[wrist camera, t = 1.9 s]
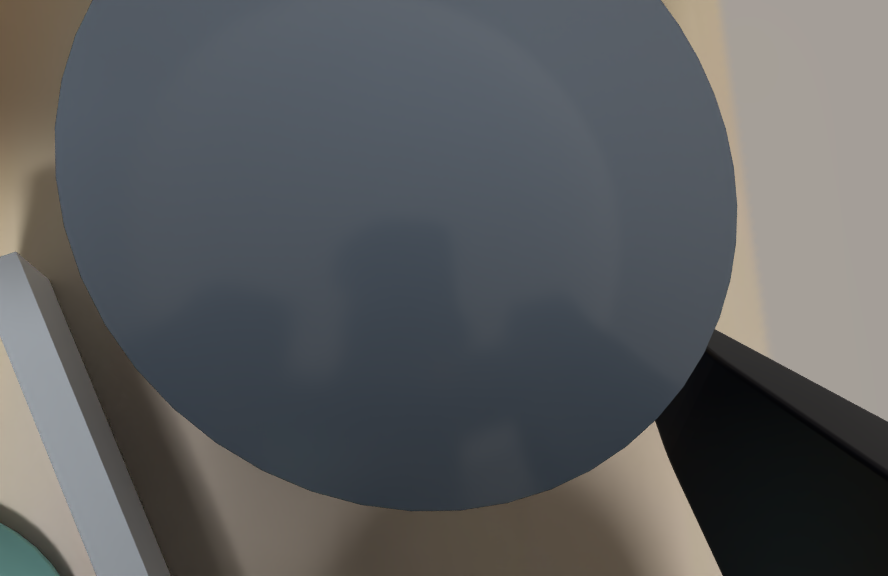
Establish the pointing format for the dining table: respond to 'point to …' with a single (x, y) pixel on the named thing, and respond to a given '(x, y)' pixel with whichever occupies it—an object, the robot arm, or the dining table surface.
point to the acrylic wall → (74, 426)
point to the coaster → (21, 556)
